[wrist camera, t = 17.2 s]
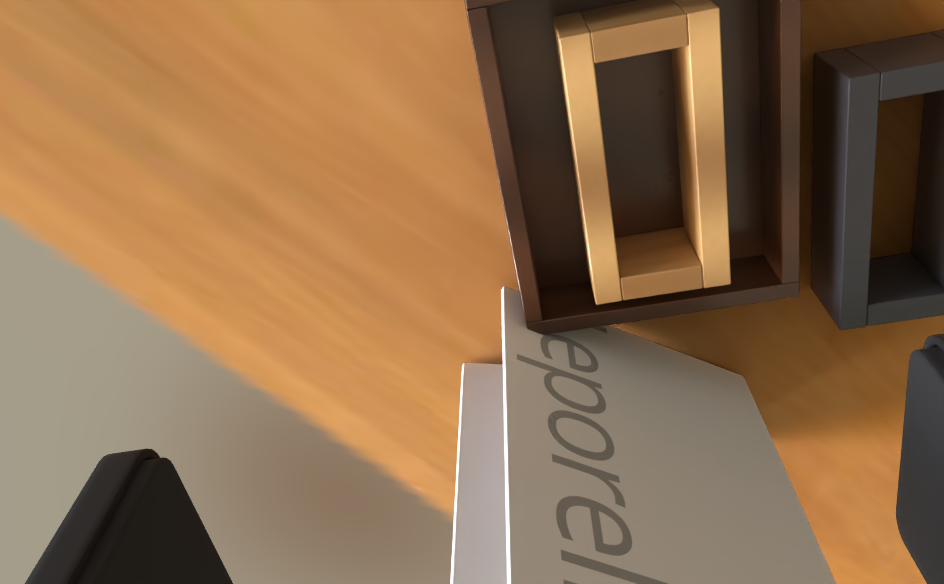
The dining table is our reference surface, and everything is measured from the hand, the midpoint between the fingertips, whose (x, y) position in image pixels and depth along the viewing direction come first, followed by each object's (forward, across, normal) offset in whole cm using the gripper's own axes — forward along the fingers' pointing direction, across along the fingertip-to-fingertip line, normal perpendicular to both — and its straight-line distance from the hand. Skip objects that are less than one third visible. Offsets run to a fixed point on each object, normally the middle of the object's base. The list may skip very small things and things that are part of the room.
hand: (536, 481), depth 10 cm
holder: (+28, -5, +6) cm, 29 cm away
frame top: (+28, -5, +6) cm, 29 cm away
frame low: (+28, -16, +10) cm, 34 cm away
